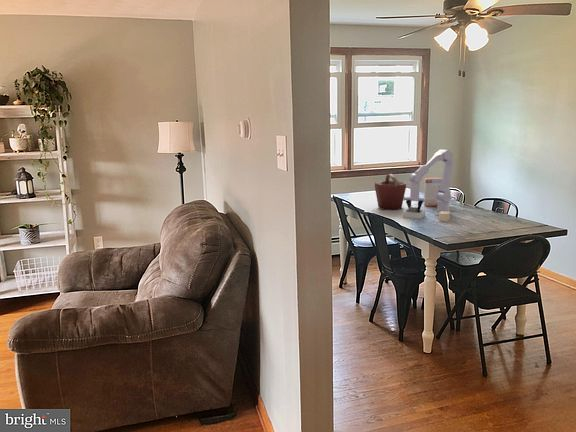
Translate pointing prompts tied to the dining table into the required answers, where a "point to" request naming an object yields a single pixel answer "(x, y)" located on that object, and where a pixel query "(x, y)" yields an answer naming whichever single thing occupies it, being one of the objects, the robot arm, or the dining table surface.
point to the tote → (413, 214)
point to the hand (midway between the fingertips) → (414, 211)
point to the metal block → (413, 208)
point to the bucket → (390, 193)
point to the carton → (444, 216)
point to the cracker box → (431, 190)
